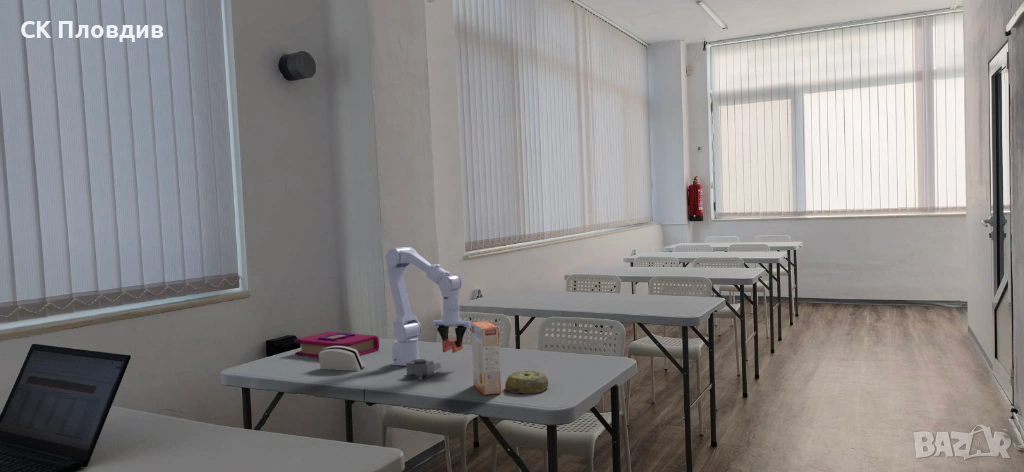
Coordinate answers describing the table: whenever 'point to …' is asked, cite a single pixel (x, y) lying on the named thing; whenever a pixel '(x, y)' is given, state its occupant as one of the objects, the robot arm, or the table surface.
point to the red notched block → (451, 345)
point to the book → (337, 343)
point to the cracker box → (486, 357)
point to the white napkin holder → (340, 358)
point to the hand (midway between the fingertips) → (452, 346)
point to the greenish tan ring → (526, 382)
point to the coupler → (421, 369)
